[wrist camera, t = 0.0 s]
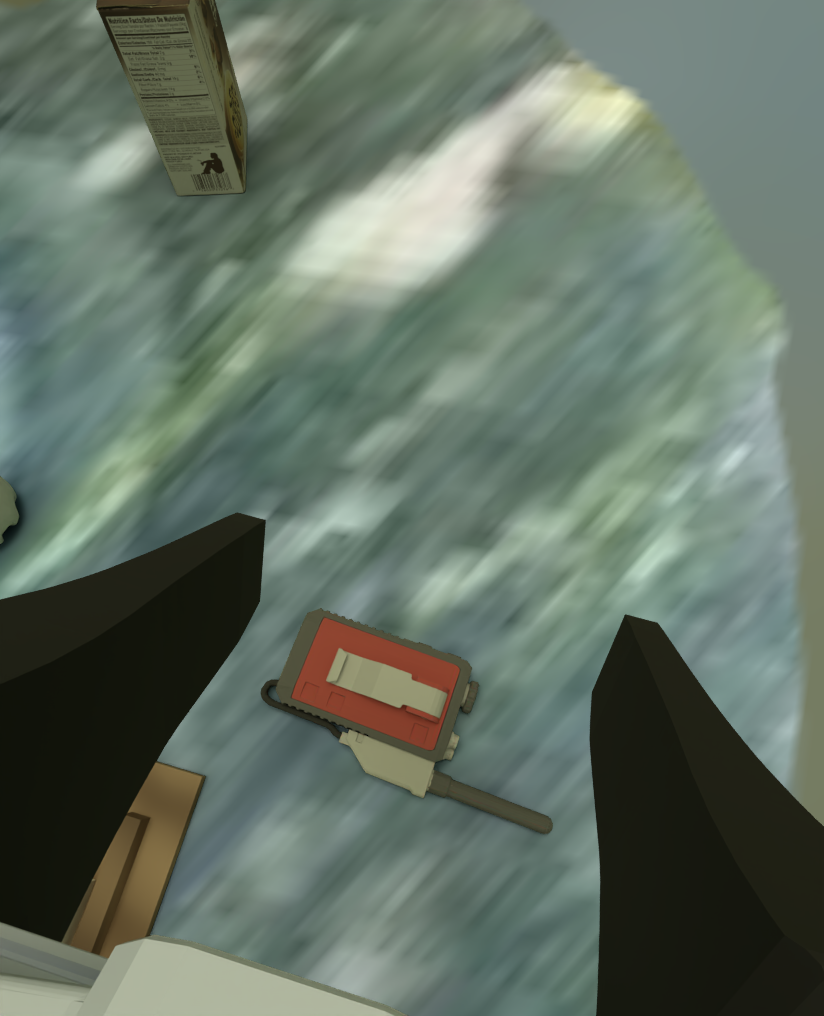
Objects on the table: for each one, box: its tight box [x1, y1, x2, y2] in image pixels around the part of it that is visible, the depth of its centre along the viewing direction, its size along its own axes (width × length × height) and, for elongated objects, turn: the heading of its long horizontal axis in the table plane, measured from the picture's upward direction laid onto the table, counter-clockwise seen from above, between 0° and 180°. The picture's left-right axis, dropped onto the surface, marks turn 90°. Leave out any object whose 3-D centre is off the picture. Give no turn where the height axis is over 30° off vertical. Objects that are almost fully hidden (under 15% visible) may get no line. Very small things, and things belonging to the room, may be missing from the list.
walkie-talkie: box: [261, 608, 553, 834], centre depth 41 cm, size 9×4×20 cm
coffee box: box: [96, 0, 247, 196], centre depth 52 cm, size 9×6×16 cm
